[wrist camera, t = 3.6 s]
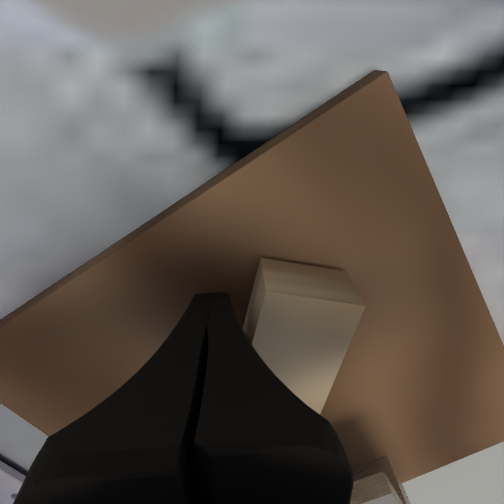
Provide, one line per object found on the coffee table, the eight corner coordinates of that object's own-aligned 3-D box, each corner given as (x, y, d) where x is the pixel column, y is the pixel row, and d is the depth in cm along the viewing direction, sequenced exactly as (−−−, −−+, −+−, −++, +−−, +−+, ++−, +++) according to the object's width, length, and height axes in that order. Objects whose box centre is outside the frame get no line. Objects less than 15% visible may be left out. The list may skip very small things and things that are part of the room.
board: (223, 536, 22) (223, 556, 21) (-39, 345, 15) (-56, 364, 14) (523, 409, 19) (537, 427, 18) (374, 70, 11) (387, 71, 10)
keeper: (344, 496, 19) (367, 582, 16) (297, 432, 17) (313, 520, 14) (399, 476, 19) (434, 562, 16) (359, 408, 16) (391, 493, 13)
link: (255, 514, 19) (259, 588, 17) (196, 511, 19) (191, 586, 16) (346, 271, 13) (377, 327, 10) (260, 257, 12) (269, 312, 10)
